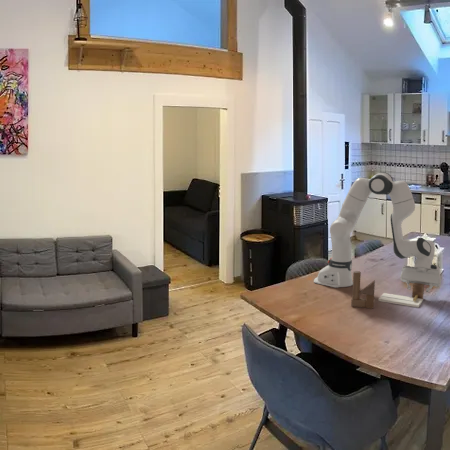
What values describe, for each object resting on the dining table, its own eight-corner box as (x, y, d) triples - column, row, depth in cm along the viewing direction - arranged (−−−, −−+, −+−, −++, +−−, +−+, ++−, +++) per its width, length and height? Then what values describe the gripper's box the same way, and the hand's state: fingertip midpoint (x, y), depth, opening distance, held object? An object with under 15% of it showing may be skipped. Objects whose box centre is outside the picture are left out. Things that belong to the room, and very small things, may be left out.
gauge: (408, 303, 265) (409, 288, 264) (413, 297, 275) (414, 282, 273) (419, 305, 263) (419, 290, 261) (423, 298, 272) (424, 284, 271)
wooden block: (372, 309, 257) (374, 274, 254) (351, 306, 262) (352, 272, 258) (373, 306, 261) (375, 272, 257) (352, 304, 265) (353, 270, 261)
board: (378, 301, 269) (378, 298, 269) (383, 295, 278) (383, 292, 278) (418, 307, 259) (418, 305, 259) (422, 301, 268) (422, 298, 268)
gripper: (402, 262, 280) (397, 284, 274) (442, 267, 270) (438, 290, 263) (403, 268, 285) (398, 290, 278) (443, 273, 274) (438, 296, 268)
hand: (418, 290), depth 271 cm, fingers open, 8 cm apart
